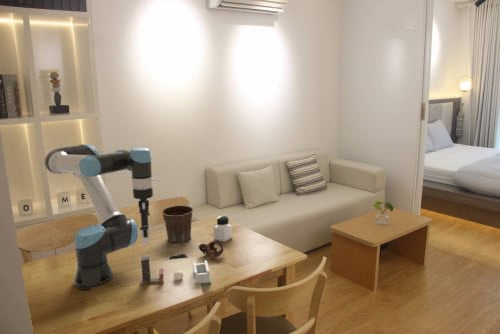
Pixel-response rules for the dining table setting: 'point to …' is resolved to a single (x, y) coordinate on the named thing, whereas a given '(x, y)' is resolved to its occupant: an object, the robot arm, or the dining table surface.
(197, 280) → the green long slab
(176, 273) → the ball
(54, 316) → the dining table surface
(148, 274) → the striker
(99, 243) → the robot arm
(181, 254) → the phone
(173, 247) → the dining table surface
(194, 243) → the dining table surface
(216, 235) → the medicine bottle
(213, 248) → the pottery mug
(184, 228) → the plant pot
